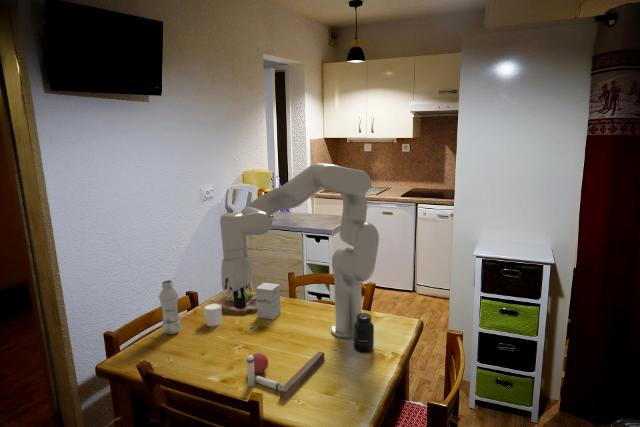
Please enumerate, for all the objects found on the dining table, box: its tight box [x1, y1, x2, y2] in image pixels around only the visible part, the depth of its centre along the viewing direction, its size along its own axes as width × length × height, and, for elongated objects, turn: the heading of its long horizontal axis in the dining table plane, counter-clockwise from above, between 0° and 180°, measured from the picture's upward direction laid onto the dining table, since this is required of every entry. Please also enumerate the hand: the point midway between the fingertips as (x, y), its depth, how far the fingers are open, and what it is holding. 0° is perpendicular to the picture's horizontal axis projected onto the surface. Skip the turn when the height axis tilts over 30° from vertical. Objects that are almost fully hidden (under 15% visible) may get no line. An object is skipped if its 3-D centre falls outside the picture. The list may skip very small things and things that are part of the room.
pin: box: [255, 375, 284, 392], centre depth 130 cm, size 2×2×9 cm
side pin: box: [246, 354, 256, 388], centre depth 130 cm, size 2×2×9 cm
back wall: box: [278, 350, 325, 400], centre depth 134 cm, size 2×24×2 cm, turn 153°
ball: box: [252, 352, 269, 374], centre depth 138 cm, size 6×6×6 cm
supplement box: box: [255, 282, 281, 321], centre depth 179 cm, size 7×7×13 cm
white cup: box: [203, 302, 222, 327], centre depth 174 cm, size 7×7×7 cm
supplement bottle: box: [353, 312, 375, 354], centre depth 150 cm, size 7×7×12 cm
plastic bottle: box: [158, 279, 182, 335], centre depth 165 cm, size 6×7×20 cm
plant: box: [216, 286, 257, 316], centre depth 190 cm, size 20×20×11 cm
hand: (240, 307), depth 142 cm, fingers closed
